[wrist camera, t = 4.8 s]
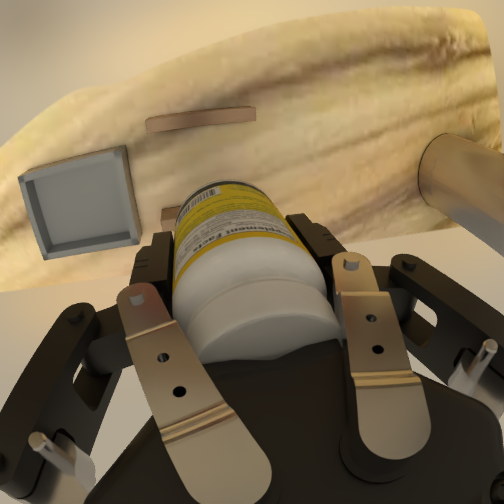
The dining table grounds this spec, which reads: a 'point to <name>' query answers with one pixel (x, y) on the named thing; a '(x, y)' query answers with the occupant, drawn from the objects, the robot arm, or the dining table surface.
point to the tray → (82, 204)
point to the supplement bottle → (245, 278)
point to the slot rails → (190, 121)
